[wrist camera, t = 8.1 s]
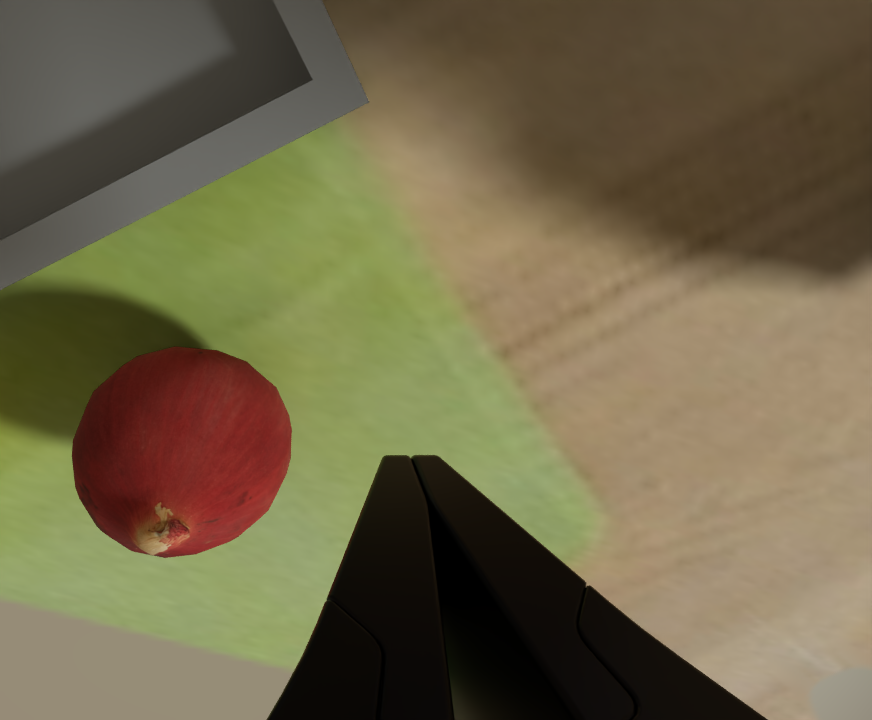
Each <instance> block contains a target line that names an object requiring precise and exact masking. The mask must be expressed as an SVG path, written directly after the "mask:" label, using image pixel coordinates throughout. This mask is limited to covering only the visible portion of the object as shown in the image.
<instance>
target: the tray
mask: <svg viewBox="0 0 872 720" xmlns="http://www.w3.org/2000/svg"><path fill="white" fill-rule="evenodd" d="M368 102H369V101H368V98H367V96H366V94H365V92H364V90H363V88H362V85H361V83H360V81H359V79H358V77H357V75H356V73H355V70H354V68H353V66H352V64H351V62H350V60H349V57H348V55H347V53H346V51H345V49H344V47H343V44H342V42H341V40H340V38H339V36H338V34H337V32H336V29H335V27H334V25H333V23H332V21H331V19H330V16H329V14H328V12H327V10H326V8H325V6H324V4H323V1H322V0H0V290H1V289H3V288H5V287H7V286H9V285H11V284H13V283H15V282H17V281H19V280H21V279H23V278H25V277H27V276H29V275H31V274H33V273H35V272H37V271H39V270H41V269H42V268H44V267H46V266H48V265H50V264H52V263H54V262H56V261H58V260H60V259H62V258H64V257H66V256H68V255H70V254H72V253H74V252H76V251H78V250H80V249H82V248H84V247H86V246H88V245H90V244H92V243H94V242H95V241H97V240H99V239H101V238H103V237H105V236H107V235H109V234H111V233H113V232H115V231H117V230H119V229H121V228H123V227H125V226H127V225H129V224H131V223H133V222H135V221H137V220H139V219H141V218H143V217H145V216H147V215H149V214H150V213H152V212H154V211H156V210H158V209H160V208H162V207H164V206H166V205H168V204H170V203H172V202H174V201H176V200H178V199H180V198H182V197H184V196H186V195H188V194H190V193H192V192H194V191H196V190H198V189H200V188H202V187H203V186H205V185H207V184H209V183H211V182H213V181H215V180H217V179H219V178H221V177H223V176H225V175H227V174H229V173H231V172H233V171H235V170H237V169H239V168H241V167H243V166H245V165H247V164H249V163H251V162H253V161H255V160H256V159H258V158H260V157H262V156H264V155H266V154H268V153H270V152H272V151H274V150H276V149H278V148H280V147H282V146H284V145H286V144H288V143H290V142H292V141H294V140H296V139H298V138H300V137H302V136H304V135H306V134H308V133H310V132H311V131H313V130H315V129H317V128H319V127H321V126H323V125H325V124H327V123H329V122H331V121H333V120H335V119H337V118H339V117H341V116H343V115H345V114H347V113H349V112H351V111H353V110H355V109H357V108H359V107H361V106H363V105H364V104H366V103H368Z"/></svg>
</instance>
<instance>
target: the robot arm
mask: <svg viewBox="0 0 872 720" xmlns="http://www.w3.org/2000/svg"><path fill="white" fill-rule="evenodd" d="M267 720H767V719H766V718H765V717H763V716H762V715H760V714H759V713H758V712H756V711H755V710H753V709H752V708H751V707H749V706H748V705H746V704H745V703H744V702H742V701H741V700H740V699H738V698H737V697H735V696H734V695H733V694H731V693H730V692H728V691H727V690H726V689H724V688H723V687H721V686H720V685H719V684H717V683H716V682H715V681H713V680H712V679H710V678H709V677H708V676H706V675H705V674H703V673H702V672H701V671H699V670H698V669H696V668H695V667H694V666H692V665H691V664H689V663H688V662H687V661H685V660H684V659H683V658H681V657H680V656H678V655H677V654H676V653H674V652H673V651H672V650H670V649H669V648H668V647H666V646H665V645H664V644H662V643H661V642H660V641H658V640H657V639H656V638H654V637H653V636H652V635H650V634H649V633H648V632H646V631H645V630H644V629H642V628H641V627H640V626H639V625H637V624H636V623H635V622H634V621H632V620H631V619H630V618H629V617H628V616H626V615H625V614H624V613H623V612H621V611H620V610H619V609H618V608H616V607H615V606H614V605H613V604H612V603H610V602H609V601H608V600H607V599H606V598H604V597H603V596H602V595H601V594H600V593H599V592H597V591H596V590H595V589H594V588H593V587H592V586H587V587H586V582H585V581H584V580H583V579H582V578H581V577H580V576H578V575H577V574H576V573H575V572H574V571H572V570H571V569H570V568H569V567H568V566H567V565H565V564H564V563H563V562H562V561H561V560H560V559H558V558H557V557H556V556H555V555H554V554H553V553H551V552H550V551H549V550H548V549H547V548H546V547H544V546H543V545H542V544H541V543H540V542H538V541H537V540H536V539H535V538H534V537H533V536H531V535H530V534H529V533H528V532H527V531H526V530H524V529H523V528H522V527H521V526H520V525H519V524H517V523H516V522H515V521H514V520H513V519H512V518H510V517H509V516H508V515H507V514H506V513H505V512H503V511H502V510H501V509H500V508H499V507H497V506H496V505H495V504H494V503H493V502H492V501H490V500H489V499H488V498H487V497H486V496H485V495H483V494H482V493H481V492H480V491H479V490H478V489H476V488H475V487H474V486H473V485H472V484H471V483H469V482H468V481H467V480H466V479H465V478H463V477H462V476H461V475H460V474H459V473H458V472H456V471H455V470H454V469H453V468H452V467H451V466H449V465H448V464H447V463H446V462H445V461H444V460H442V459H441V458H440V457H438V456H436V455H414V456H412V457H411V458H410V457H409V456H407V455H386V456H384V457H383V458H382V460H381V462H380V465H379V468H378V470H377V473H376V475H375V478H374V480H373V483H372V485H371V488H370V490H369V493H368V495H367V498H366V501H365V503H364V506H363V508H362V511H361V513H360V516H359V518H358V521H357V523H356V526H355V528H354V531H353V534H352V536H351V539H350V541H349V544H348V546H347V549H346V551H345V554H344V556H343V559H342V562H341V564H340V567H339V569H338V572H337V574H336V577H335V579H334V582H333V584H332V587H331V589H330V592H329V595H328V597H327V601H326V602H325V604H324V606H323V609H322V611H321V614H320V616H319V619H318V621H317V624H316V626H315V628H314V631H313V633H312V635H311V637H310V640H309V642H308V644H307V646H306V649H305V651H304V653H303V655H302V657H301V659H300V661H299V663H298V665H297V667H296V668H295V670H294V672H293V674H292V676H291V678H290V680H289V682H288V684H287V685H286V687H285V689H284V691H283V693H282V695H281V697H280V698H279V700H278V701H277V703H276V705H275V706H274V708H273V710H272V711H271V713H270V715H269V717H268V718H267Z"/></svg>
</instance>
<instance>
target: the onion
mask: <svg viewBox="0 0 872 720" xmlns="http://www.w3.org/2000/svg"><path fill="white" fill-rule="evenodd" d="M291 433H292V429H291V424H290V418H289V414H288V412H287V410H286V408H285V406H284V403H283V401H282V399H281V397H280V395H279V392H278V390H277V388H276V387H275V386H274V385H273V384H272V383H270V382H269V381H268V380H267V379H266V378H265V377H263V376H262V375H261V374H260V373H259V372H258V371H256V370H255V369H254V368H253V367H252V366H251V365H250V364H249V363H248V362H246V361H244V360H241V359H238V358H236V357H233V356H230V355H228V354H225V353H223V352H220V351H217V350H207V349H196V348H186V347H171V348H167V349H163V350H159V351H155V352H151V353H147V354H143V355H139V356H137V357H135V358H134V359H132V360H131V361H129V362H127V363H126V364H124V365H123V366H122V367H121V368H119V369H118V370H117V371H116V372H115V373H114V374H113V375H111V376H110V377H109V378H108V379H107V380H106V381H105V382H104V383H102V384H101V385H100V386H99V387H98V388H97V389H96V390H94V392H93V394H92V396H91V398H90V400H89V402H88V404H87V407H86V409H85V411H84V414H83V416H82V419H81V421H80V424H79V427H78V429H77V432H76V434H75V437H74V439H73V448H72V461H73V470H74V479H75V487H76V490H77V493H78V496H79V498H80V500H81V502H82V503H83V505H84V507H85V508H86V510H87V511H88V513H89V515H90V516H91V518H92V519H93V521H94V523H95V524H96V526H97V527H98V528H99V529H100V530H101V531H102V532H104V533H105V534H106V535H108V536H109V537H111V538H112V539H114V540H115V541H117V542H118V543H120V544H121V545H123V546H125V547H126V548H128V549H129V550H131V551H134V552H139V553H144V554H149V555H154V556H159V557H163V558H167V557H176V556H184V555H193V554H197V553H200V552H203V551H205V550H208V549H211V548H214V547H216V546H219V545H222V544H224V543H227V542H230V541H231V540H233V539H235V538H237V537H238V536H239V535H241V534H242V533H243V532H244V531H245V530H246V529H248V528H249V527H250V526H251V525H252V524H254V523H255V522H256V521H257V520H258V519H260V518H261V517H262V516H263V515H264V514H265V513H266V512H267V511H268V510H269V508H270V506H271V504H272V502H273V500H274V498H275V496H276V494H277V492H278V490H279V488H280V486H281V484H282V482H283V480H284V478H285V476H286V474H287V470H288V466H289V462H290V458H291Z"/></svg>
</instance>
